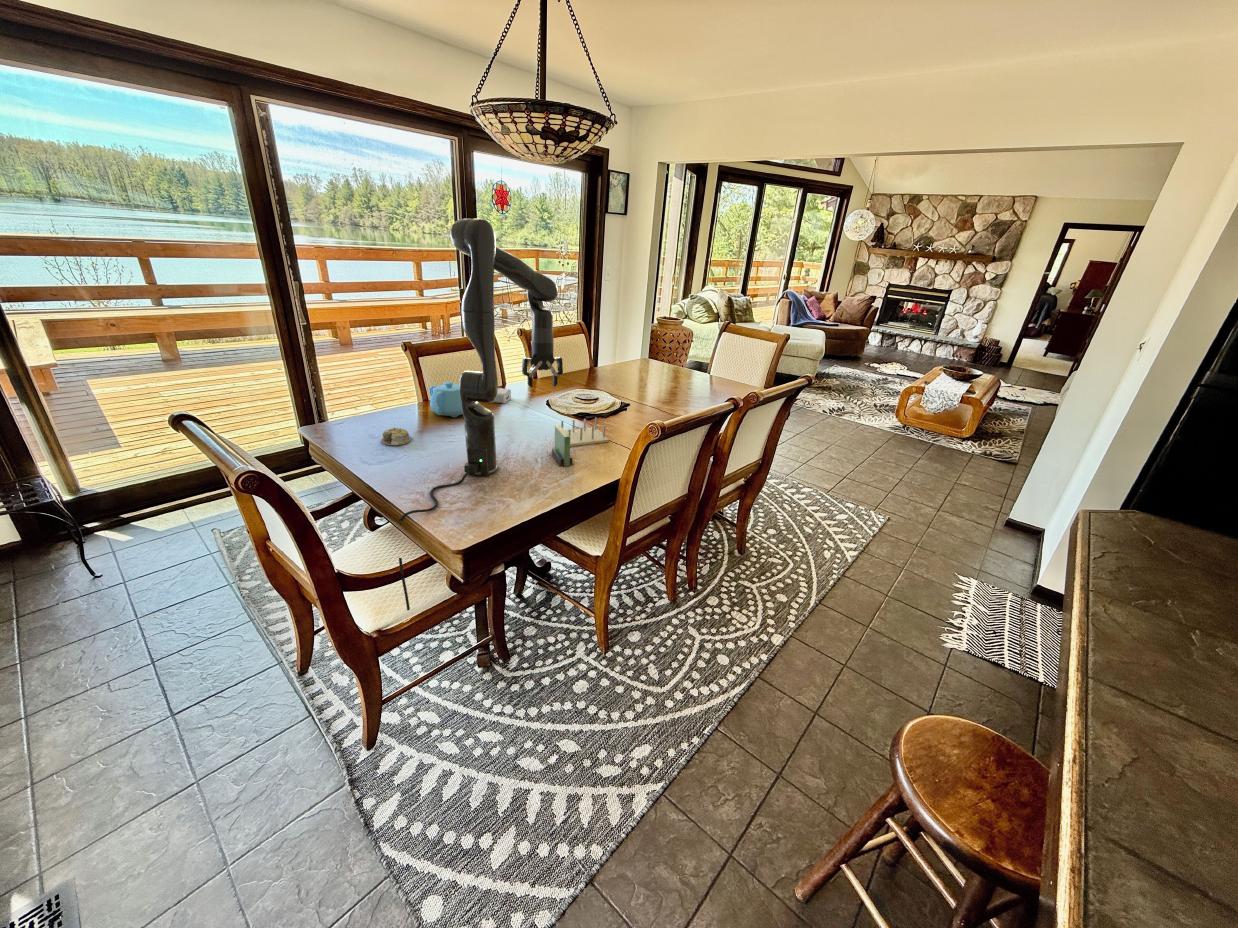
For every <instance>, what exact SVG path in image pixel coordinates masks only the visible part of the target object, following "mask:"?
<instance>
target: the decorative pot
mask: <svg viewBox="0 0 1238 928" xmlns="http://www.w3.org/2000/svg"><path fill="white" fill-rule="evenodd" d="M428 390H429V394H430V396H431V397H430V399H429V402H430V404H429V405H430V409H431V411H432V412H433V413H435V414H437V416H447V417H450V418H458V416H461V415H463V413H462V405H461V398H460V391H459V383H454V382H453V381H445V382H444V383H442V384H439V385H436V384H434V385H431V386H430V387H429V389H428Z"/></svg>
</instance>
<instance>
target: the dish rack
mask: <svg viewBox="0 0 1238 928" xmlns="http://www.w3.org/2000/svg"><path fill="white" fill-rule="evenodd" d="M575 423H576V420H575V419H572V429H571V428H568V429H564V420H561V421H560V426H561V427H562V428H563V429H564V430H565V431H566V432H567V434H568V435H569V436H570V447H575V446H584V445H586V446H587V445H594V444H600V443H609V442H610V441H609V438H608V437H607V436H606V425H605V424H604V425H603V427H602V429H603V430H602V431H603V432H601V431H600V430H599V429H598V417H594V426H591V427H587V418H583V427H580V428H576V427H575V426H576V425H575Z"/></svg>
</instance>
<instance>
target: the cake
mask: <svg viewBox="0 0 1238 928" xmlns="http://www.w3.org/2000/svg"><path fill="white" fill-rule="evenodd" d="M411 440H412V439H411V437H410V433H409V431H408V430H407V429H405V428H398V427H393V428H388V429H385V430H384V431H383V432H382V437H381V443H382V444H384V445H387V446H402V445H405V444H408V443H410V442H411Z"/></svg>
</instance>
